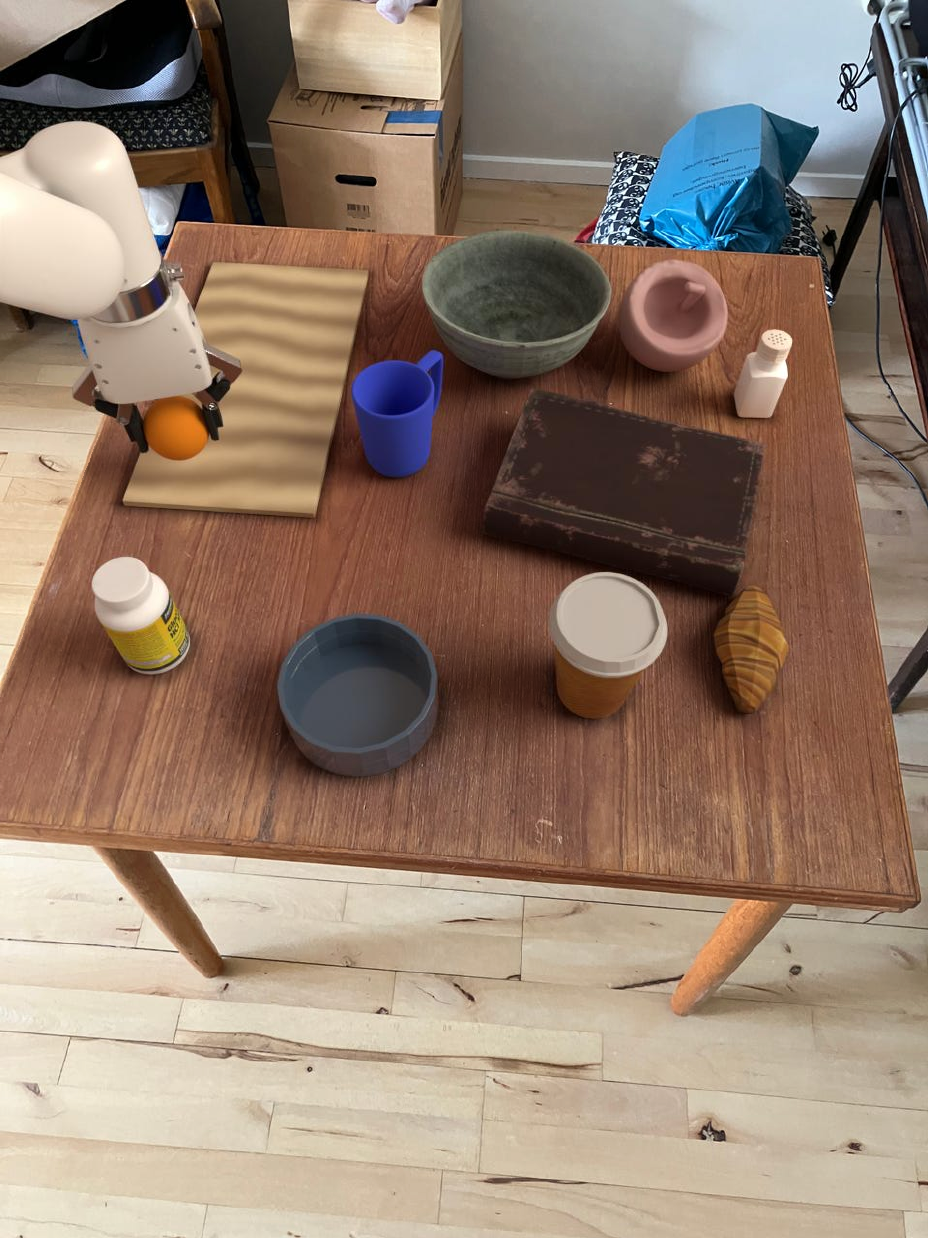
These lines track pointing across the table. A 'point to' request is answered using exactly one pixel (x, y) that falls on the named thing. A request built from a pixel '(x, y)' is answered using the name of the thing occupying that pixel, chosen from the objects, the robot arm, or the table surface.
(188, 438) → the orange
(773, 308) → the table surface
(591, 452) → the diary
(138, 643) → the pill bottle
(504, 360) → the bowl
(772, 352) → the salt shaker
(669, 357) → the mortar and pestle
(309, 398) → the serving board
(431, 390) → the mug
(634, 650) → the disposable coffee cup
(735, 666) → the croissant
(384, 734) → the fruit bowl
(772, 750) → the table surface
